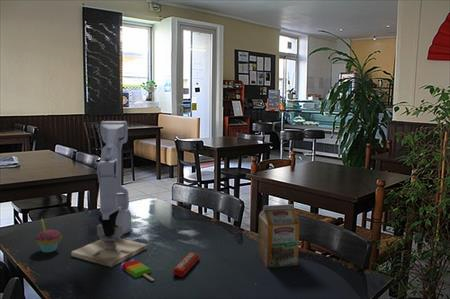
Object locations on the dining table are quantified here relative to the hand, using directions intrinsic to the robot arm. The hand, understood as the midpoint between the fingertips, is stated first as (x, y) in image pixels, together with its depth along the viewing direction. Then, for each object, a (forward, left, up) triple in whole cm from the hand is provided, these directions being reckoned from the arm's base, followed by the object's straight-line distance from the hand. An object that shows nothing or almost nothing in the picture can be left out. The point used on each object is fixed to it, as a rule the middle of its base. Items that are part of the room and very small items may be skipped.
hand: (109, 233), depth 144 cm
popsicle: (+8, +20, -7) cm, 23 cm away
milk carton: (-23, +53, -7) cm, 58 cm away
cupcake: (+9, -20, -7) cm, 23 cm away
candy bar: (-3, +30, -7) cm, 31 cm away
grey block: (0, 0, -2) cm, 2 cm away
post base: (0, 0, -7) cm, 7 cm away
